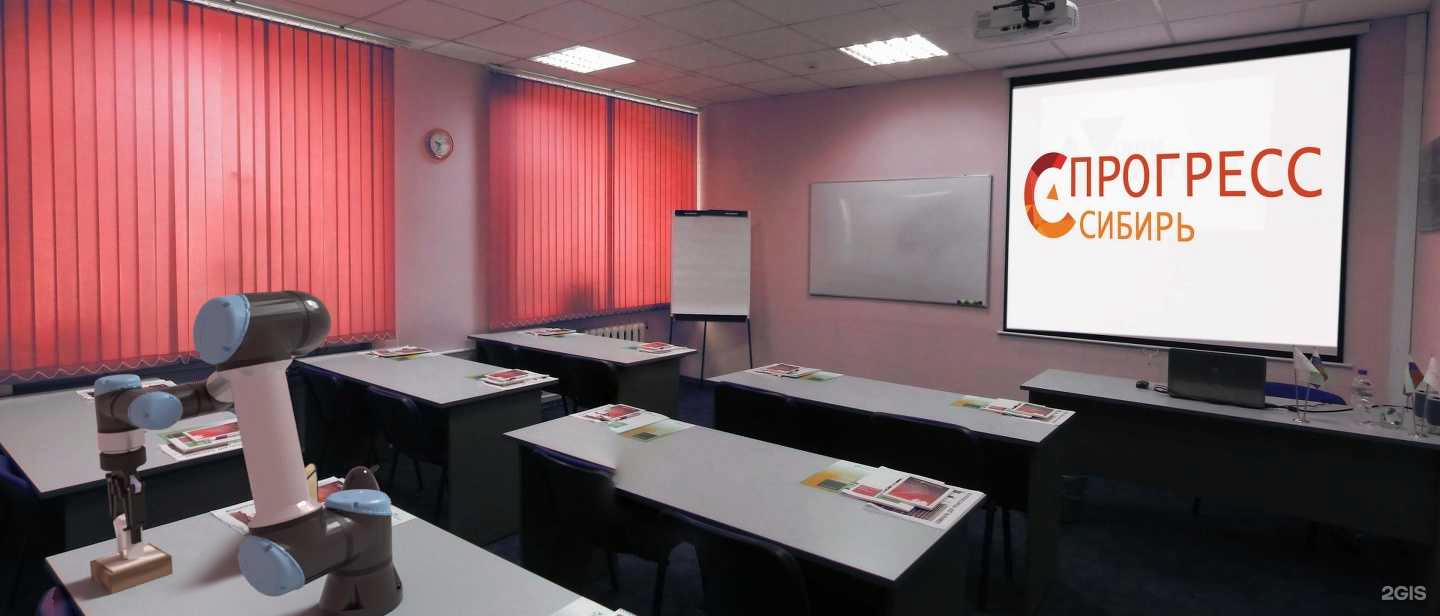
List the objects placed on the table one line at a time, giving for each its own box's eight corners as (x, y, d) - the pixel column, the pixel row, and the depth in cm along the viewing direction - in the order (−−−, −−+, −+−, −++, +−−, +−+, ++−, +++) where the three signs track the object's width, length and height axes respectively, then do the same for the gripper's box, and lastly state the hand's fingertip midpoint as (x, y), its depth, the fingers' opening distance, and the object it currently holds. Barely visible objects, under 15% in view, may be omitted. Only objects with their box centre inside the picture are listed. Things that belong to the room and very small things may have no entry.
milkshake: (130, 562, 149) (127, 517, 147) (110, 558, 150) (107, 513, 148) (151, 552, 153) (149, 508, 152) (131, 549, 154) (128, 505, 153)
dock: (172, 573, 154) (171, 554, 153) (112, 593, 145) (110, 574, 144) (150, 560, 159) (149, 541, 159) (91, 579, 150) (89, 560, 150)
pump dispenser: (392, 522, 182) (390, 465, 180) (353, 536, 173) (350, 476, 172) (369, 513, 187) (367, 457, 186) (330, 526, 179) (327, 468, 177)
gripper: (161, 451, 147) (169, 557, 150) (127, 436, 156) (135, 537, 159) (117, 460, 141) (125, 571, 144) (84, 445, 150) (92, 550, 153)
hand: (130, 553), depth 151 cm, fingers closed on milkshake, 4 cm apart
